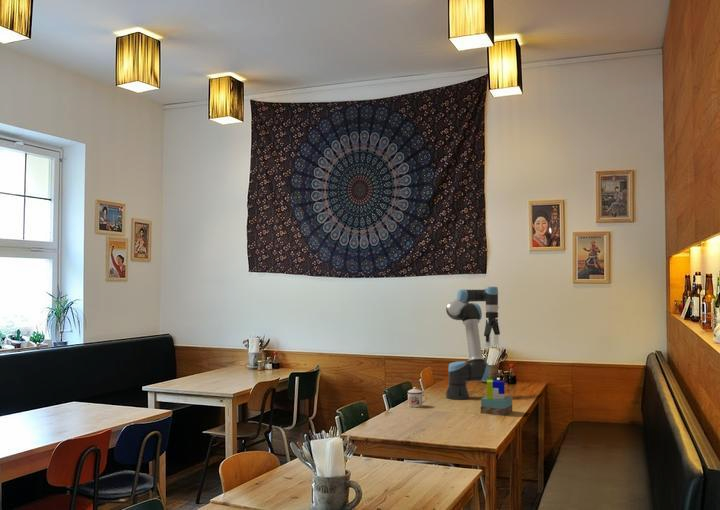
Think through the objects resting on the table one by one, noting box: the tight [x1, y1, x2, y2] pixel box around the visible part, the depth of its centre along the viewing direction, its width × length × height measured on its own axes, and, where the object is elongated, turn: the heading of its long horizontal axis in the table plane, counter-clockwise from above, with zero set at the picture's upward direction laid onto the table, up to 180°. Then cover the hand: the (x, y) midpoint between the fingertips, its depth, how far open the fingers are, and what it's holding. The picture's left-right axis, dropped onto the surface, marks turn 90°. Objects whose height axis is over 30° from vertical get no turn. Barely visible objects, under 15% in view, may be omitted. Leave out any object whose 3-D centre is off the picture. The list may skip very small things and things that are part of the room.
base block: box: [480, 404, 513, 417], centre depth 388 cm, size 14×14×4 cm
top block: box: [480, 395, 513, 409], centre depth 388 cm, size 14×14×4 cm
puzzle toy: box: [486, 378, 506, 400], centre depth 388 cm, size 10×10×10 cm
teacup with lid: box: [407, 386, 428, 408], centre depth 407 cm, size 12×9×12 cm
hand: (492, 346), depth 408 cm, fingers open, 13 cm apart
